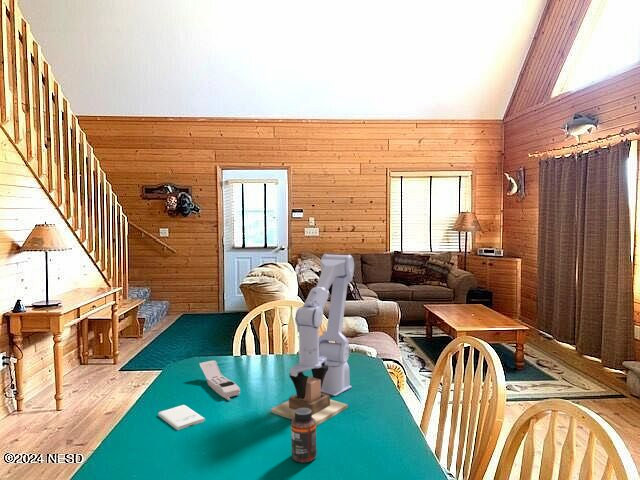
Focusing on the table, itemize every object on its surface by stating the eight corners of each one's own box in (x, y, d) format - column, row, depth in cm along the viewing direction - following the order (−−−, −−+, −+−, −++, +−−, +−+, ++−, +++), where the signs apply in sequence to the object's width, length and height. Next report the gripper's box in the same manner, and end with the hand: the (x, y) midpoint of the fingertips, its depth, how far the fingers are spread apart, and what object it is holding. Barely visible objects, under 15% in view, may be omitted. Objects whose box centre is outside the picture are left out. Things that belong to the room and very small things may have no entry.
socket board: (306, 395, 153) (306, 382, 152) (347, 407, 143) (347, 394, 143) (270, 412, 140) (270, 398, 140) (313, 427, 130) (313, 412, 130)
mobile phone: (214, 359, 172) (243, 379, 151) (215, 375, 172) (244, 398, 151) (198, 362, 168) (225, 384, 147) (198, 379, 169) (226, 403, 148)
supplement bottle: (316, 450, 118) (315, 405, 117) (317, 463, 112) (316, 416, 111) (291, 451, 118) (291, 405, 117) (291, 464, 112) (290, 416, 111)
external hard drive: (184, 409, 144) (205, 423, 135) (158, 417, 139) (177, 432, 129) (184, 404, 144) (205, 417, 135) (158, 412, 138) (177, 426, 129)
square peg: (309, 402, 145) (309, 376, 144) (321, 406, 142) (320, 379, 141) (299, 407, 141) (299, 380, 140) (311, 411, 138) (310, 383, 138)
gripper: (303, 356, 132) (303, 405, 133) (335, 344, 143) (335, 389, 144) (284, 351, 136) (285, 398, 137) (316, 340, 148) (316, 384, 149)
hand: (309, 393), depth 141 cm, fingers open, 7 cm apart
